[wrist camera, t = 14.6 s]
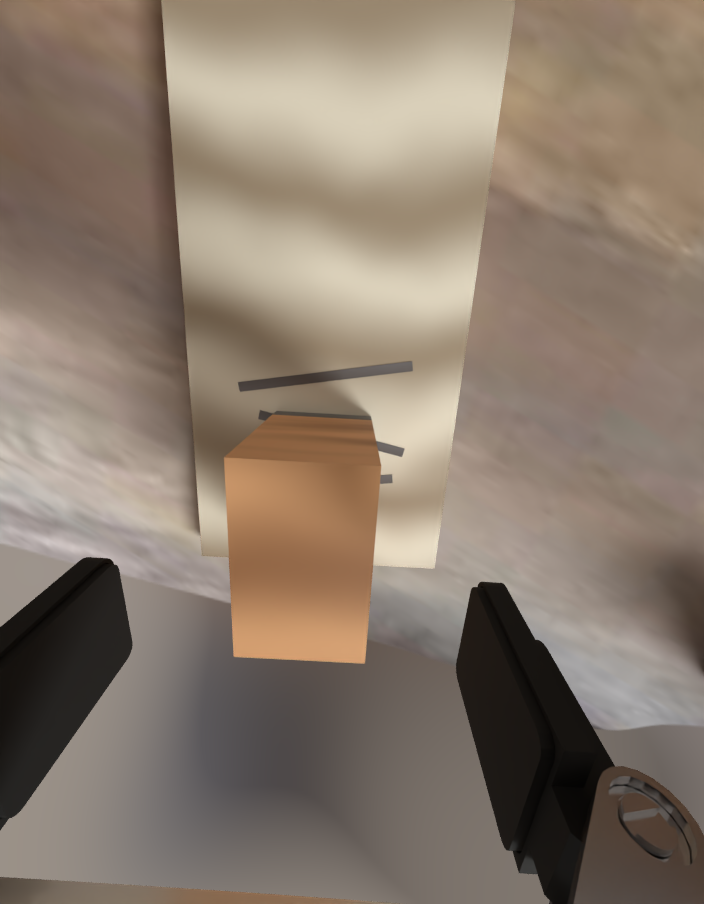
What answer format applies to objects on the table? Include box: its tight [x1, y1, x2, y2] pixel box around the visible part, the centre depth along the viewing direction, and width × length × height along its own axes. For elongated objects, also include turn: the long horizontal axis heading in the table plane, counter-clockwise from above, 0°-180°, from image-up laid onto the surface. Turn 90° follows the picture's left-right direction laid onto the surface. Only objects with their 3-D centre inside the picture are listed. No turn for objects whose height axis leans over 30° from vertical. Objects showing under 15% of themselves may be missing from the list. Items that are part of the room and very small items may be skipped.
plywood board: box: [161, 0, 516, 568], centre depth 19 cm, size 26×14×2 cm, turn 177°
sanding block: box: [224, 411, 381, 663], centre depth 17 cm, size 8×5×8 cm, turn 177°
